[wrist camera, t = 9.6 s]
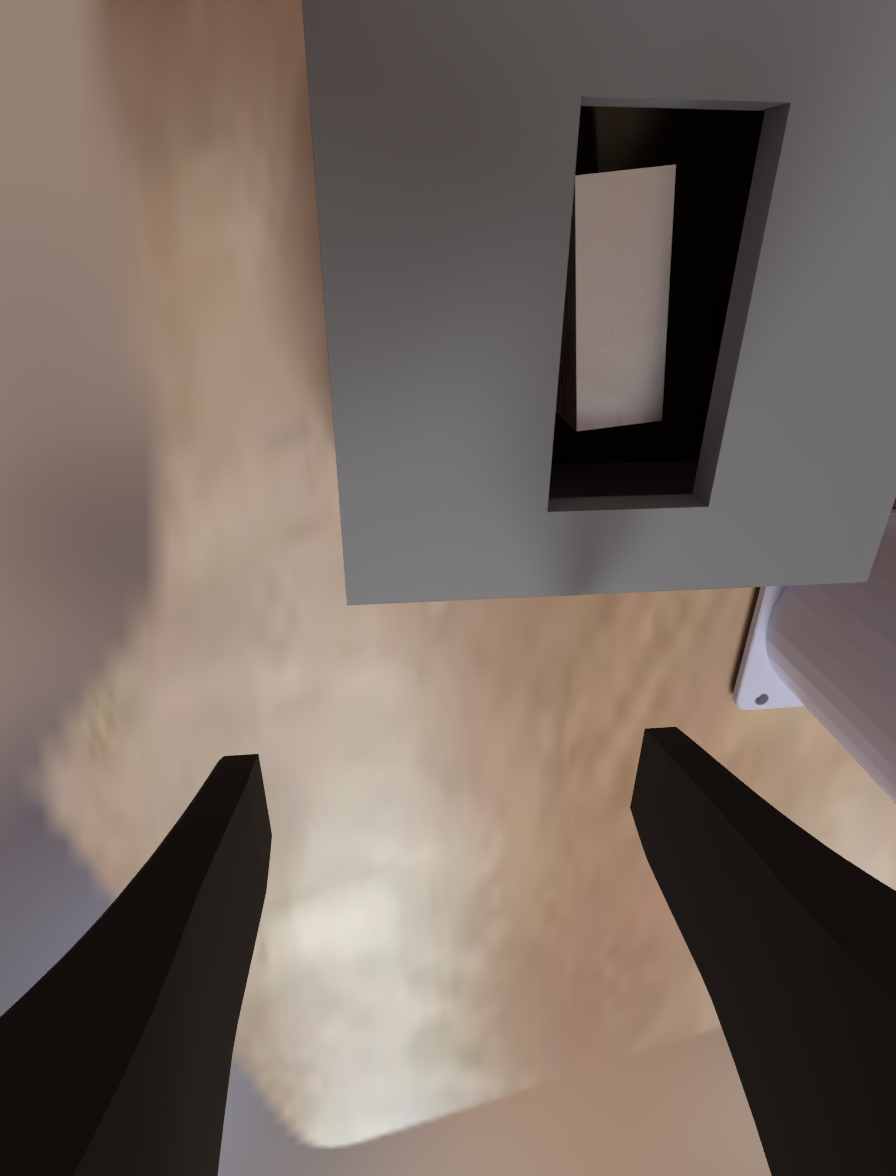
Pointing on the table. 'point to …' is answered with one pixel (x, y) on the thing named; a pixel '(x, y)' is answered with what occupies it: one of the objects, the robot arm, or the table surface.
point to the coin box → (538, 283)
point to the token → (617, 298)
